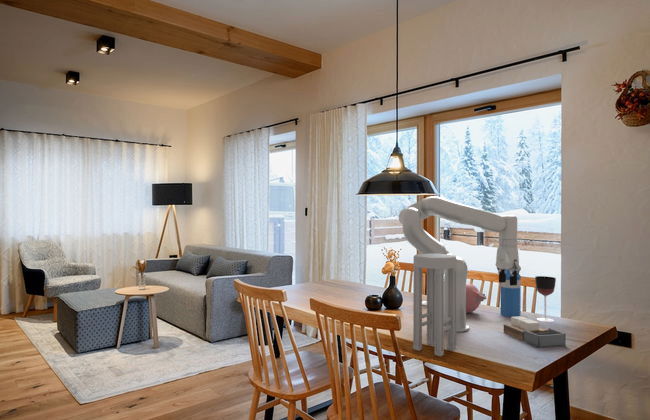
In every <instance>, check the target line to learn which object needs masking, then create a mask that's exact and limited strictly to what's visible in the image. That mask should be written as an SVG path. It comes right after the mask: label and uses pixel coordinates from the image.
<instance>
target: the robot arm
mask: <svg viewBox="0 0 650 420" xmlns="http://www.w3.org/2000/svg"><path fill="white" fill-rule="evenodd" d="M431 216H434V217H436V218H440V219H443V220H446V221H448V222H449V221H450V222H453V223H455V224H460V225H466V226H467V225H468V226H472V227H477V228H479V229H480V228H481V229H482V230H483V231H485V232H489V233H498V245H497V249H496V257H495V258H496V259H495V267H496V269H497V273H498V283H499V284H501V283H503V282H506V273H505V271H506V270H509V271H510V274H511V276H510V285H511V286H512V285H517V276H518V274H520V271H521V270H522V267H521V266H520V257H519V248H518V217H517V216H516V215H511V214H509V215H507V214H504V215H503V214H502V215H499V214H496V213H493V212H490V211H488V210H487V211H486V210H484V209H479V208H476V207H473V206H470V205H466V204H463V203H459V202H456V201H453V200H449V199H446V198H444V197H440V196H436V195H434V196H433V195H432V196H428V197H425V198H423V199H420V200H419V201H417V202H415V203H413V204H411V205H409V206H406V207H404V208H403V209H401V210H400V212H399V214H398V220H399V223H400V224H401V225H402V232H403V235H404V238H405V240H407V242H408V243H409V244H410V245H411V246H412V247H413V248H415V249H416V250H417V251H418V252H419V254H448V255H453V254H452V253H451V252H449V251H448V250H447V249H446V247H445V245H444V244H443V243H441V242H440V241H439V240H437V239H436V238H434V237H433V236H432V235H431V234H429V233H428V232H427V231H426V230H425V228H423V226H422V225H423V224H422V221H423V220H425V219H428V218H429V217H431ZM455 256H456V257H457V269H456V333H463V332H469V330H470V329H471V328H470V326H469V324H467V313H466V282H467V279H468V271H469V270H468V264H467V262H466V261H465V260H464V259H463V258H461V257H460V256H457V255H455ZM513 271H514V272H513ZM446 317H448V269H444V318H446ZM447 325H448V321H447V322H444V326H447ZM446 331H447V332H448V330H446Z"/></svg>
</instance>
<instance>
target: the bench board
mask: <svg viewBox="0 0 650 420" xmlns="http://www.w3.org/2000/svg"><path fill="white" fill-rule="evenodd" d="M524 330H525V329H523V328H520V327H518V326H515V325H513V324H511V323H504V324H503V333H504V334H506V335H509V336H511V337H513V338H515V339H518V340H520V341H522V342H524V341H523V334H524ZM526 331H528V330H526ZM529 332H531V333H546V332H548V329H547V328H544V327H541V326H539V330H533V331H529Z"/></svg>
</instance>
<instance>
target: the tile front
mask: <svg viewBox="0 0 650 420" xmlns="http://www.w3.org/2000/svg"><path fill="white" fill-rule="evenodd" d="M539 327H540V321H539V322H538V321H535V320H533V319H529V320H520V328H523V329H525V330H528V331H533V330H539Z"/></svg>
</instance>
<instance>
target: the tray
mask: <svg viewBox="0 0 650 420" xmlns="http://www.w3.org/2000/svg"><path fill="white" fill-rule="evenodd" d="M547 330H548V332H546V333H531V332H529V331H526V330H524V334H523V341H522V342H524V343H527V344H529V345H530V346H531V345H532V346H533V347H536V348H538V349H539V348H540V349H542V348H552V347H553V348H554V347H555V348H556V347H565V346H566V342H567V341H566V340H567V338H566V333H564V332H561V331H559V330H557V329H553V328H550V327H548V329H547Z"/></svg>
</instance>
